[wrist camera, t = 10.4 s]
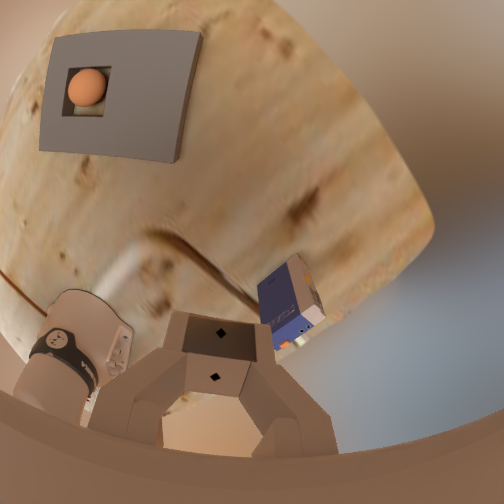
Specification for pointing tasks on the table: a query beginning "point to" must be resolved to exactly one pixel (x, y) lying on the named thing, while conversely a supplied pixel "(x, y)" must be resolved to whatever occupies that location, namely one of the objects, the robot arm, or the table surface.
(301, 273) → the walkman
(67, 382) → the robot arm
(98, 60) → the pocket board
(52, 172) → the table surface
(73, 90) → the ball
